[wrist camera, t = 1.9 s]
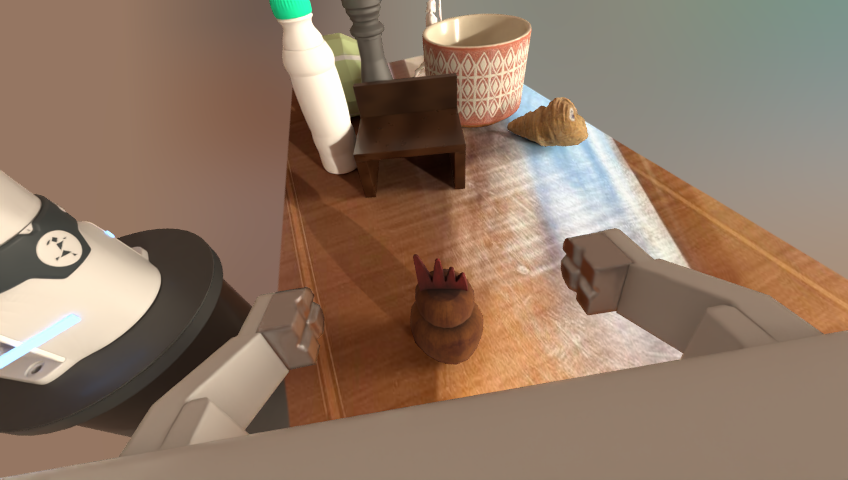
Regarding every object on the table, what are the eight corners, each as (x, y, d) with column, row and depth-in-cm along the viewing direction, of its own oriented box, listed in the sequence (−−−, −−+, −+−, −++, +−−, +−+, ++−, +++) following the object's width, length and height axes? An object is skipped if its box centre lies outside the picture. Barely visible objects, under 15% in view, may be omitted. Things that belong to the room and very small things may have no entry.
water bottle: (369, 156, 57) (326, -15, 38) (349, 179, 53) (290, -1, 34) (338, 150, 59) (283, -14, 41) (316, 172, 55) (244, 0, 37)
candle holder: (410, 136, 61) (388, -30, 42) (389, 151, 58) (356, -20, 39) (386, 128, 63) (356, -30, 45) (366, 143, 60) (324, -21, 42)
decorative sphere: (390, 121, 66) (375, 41, 54) (320, 136, 64) (290, 57, 53) (377, 93, 75) (363, 20, 64) (316, 106, 74) (291, 33, 62)
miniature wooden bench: (365, 197, 49) (343, 121, 40) (371, 155, 57) (353, 83, 48) (464, 188, 49) (466, 109, 39) (456, 147, 57) (456, 72, 47)
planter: (470, 144, 57) (473, 56, 46) (411, 110, 68) (401, 32, 57) (538, 108, 64) (555, 23, 53) (474, 83, 75) (477, 8, 64)
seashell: (512, 153, 61) (499, 154, 55) (510, 110, 59) (496, 106, 53) (590, 143, 54) (585, 143, 47) (590, 94, 52) (585, 86, 46)
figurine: (446, 90, 73) (443, -4, 60) (406, 92, 74) (395, 0, 61) (447, 74, 79) (445, -15, 66) (411, 76, 81) (401, -11, 67)
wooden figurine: (406, 354, 32) (378, 271, 21) (430, 309, 35) (417, 216, 24) (468, 383, 30) (473, 307, 18) (487, 331, 33) (502, 240, 22)
